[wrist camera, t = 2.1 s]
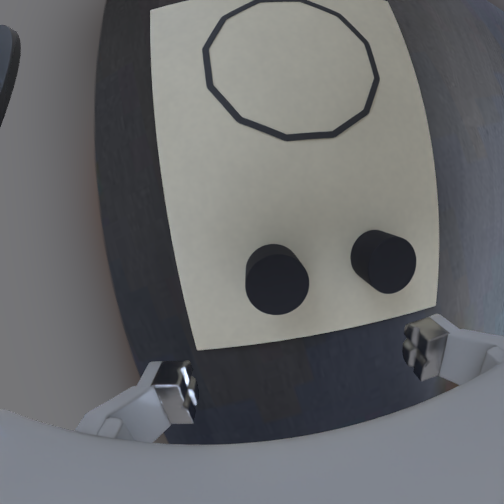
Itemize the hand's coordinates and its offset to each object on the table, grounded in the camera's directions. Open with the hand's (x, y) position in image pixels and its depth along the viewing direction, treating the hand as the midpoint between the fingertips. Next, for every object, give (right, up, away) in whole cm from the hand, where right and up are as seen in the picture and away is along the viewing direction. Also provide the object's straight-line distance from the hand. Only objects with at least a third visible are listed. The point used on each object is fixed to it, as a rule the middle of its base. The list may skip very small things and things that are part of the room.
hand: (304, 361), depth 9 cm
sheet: (+2, +12, +10) cm, 16 cm away
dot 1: (+8, +4, +11) cm, 14 cm away
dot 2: (0, +3, +11) cm, 12 cm away
